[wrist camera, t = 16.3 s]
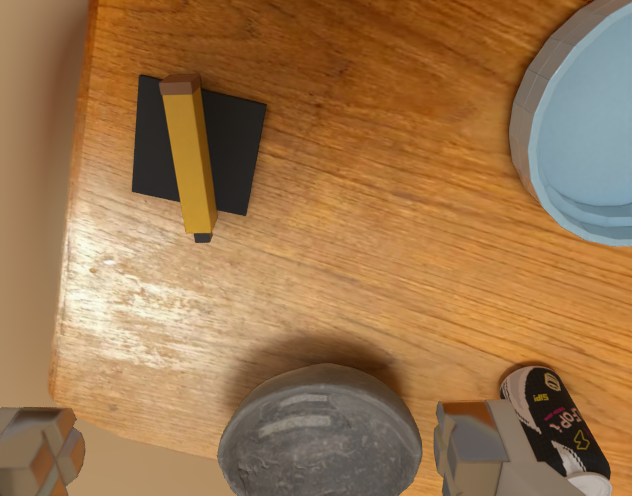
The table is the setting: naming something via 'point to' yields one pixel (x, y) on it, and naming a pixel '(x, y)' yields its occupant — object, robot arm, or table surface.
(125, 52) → the table surface
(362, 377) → the bowl
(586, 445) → the beverage can
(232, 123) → the mat
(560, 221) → the blue bowl
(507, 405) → the robot arm
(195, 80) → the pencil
